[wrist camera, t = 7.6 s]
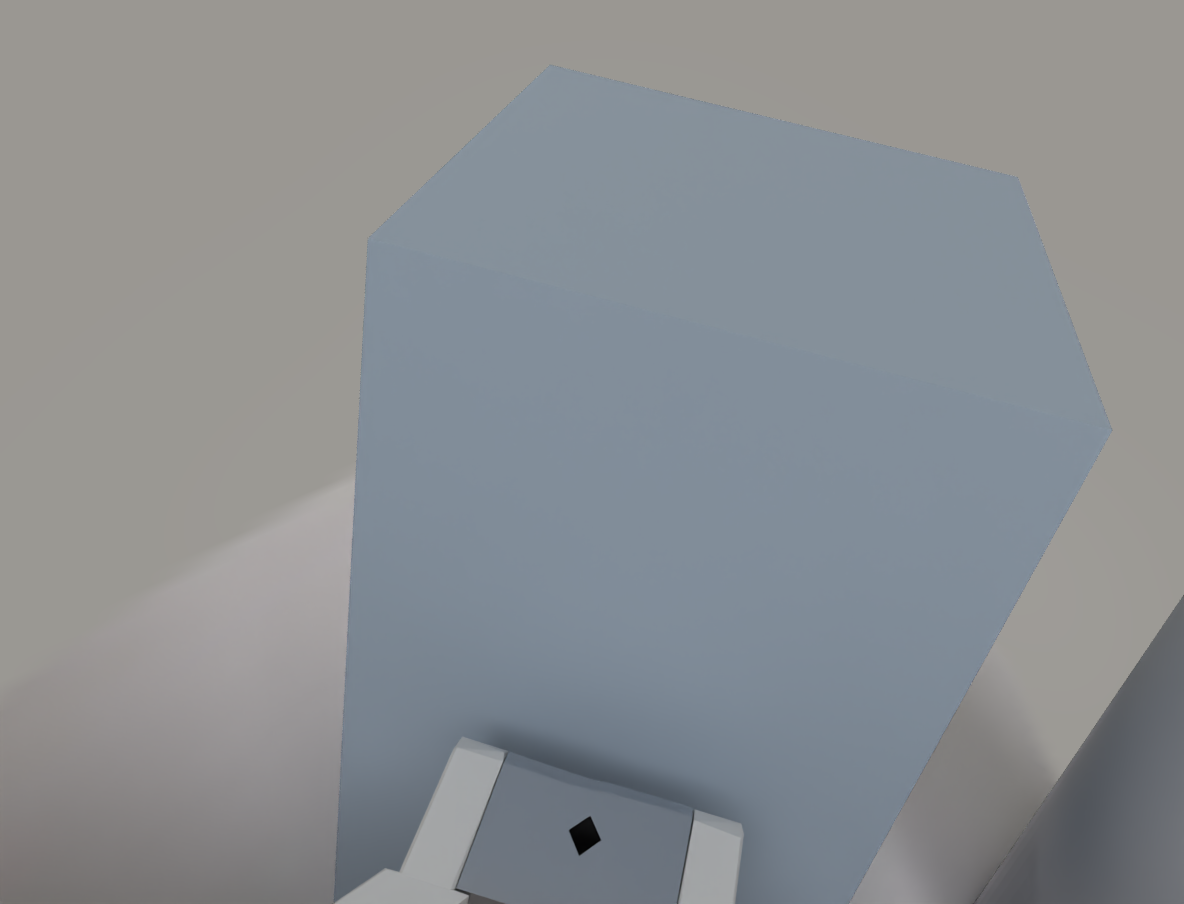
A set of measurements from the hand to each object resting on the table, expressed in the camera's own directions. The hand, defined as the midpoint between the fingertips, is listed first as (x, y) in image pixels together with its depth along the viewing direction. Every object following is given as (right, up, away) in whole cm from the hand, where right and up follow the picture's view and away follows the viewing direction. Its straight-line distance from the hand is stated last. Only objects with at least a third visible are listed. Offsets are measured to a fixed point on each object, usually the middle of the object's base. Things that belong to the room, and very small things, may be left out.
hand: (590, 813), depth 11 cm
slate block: (0, -3, +6) cm, 7 cm away
